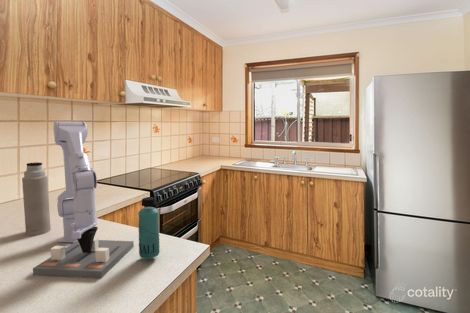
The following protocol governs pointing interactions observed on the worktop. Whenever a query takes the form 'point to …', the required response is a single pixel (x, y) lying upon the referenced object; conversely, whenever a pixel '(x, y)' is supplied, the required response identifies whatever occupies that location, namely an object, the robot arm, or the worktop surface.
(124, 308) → the worktop surface
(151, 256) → the beverage bottle
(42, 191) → the thermos bottle
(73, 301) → the worktop surface
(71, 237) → the robot arm
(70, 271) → the switch panel
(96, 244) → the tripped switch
